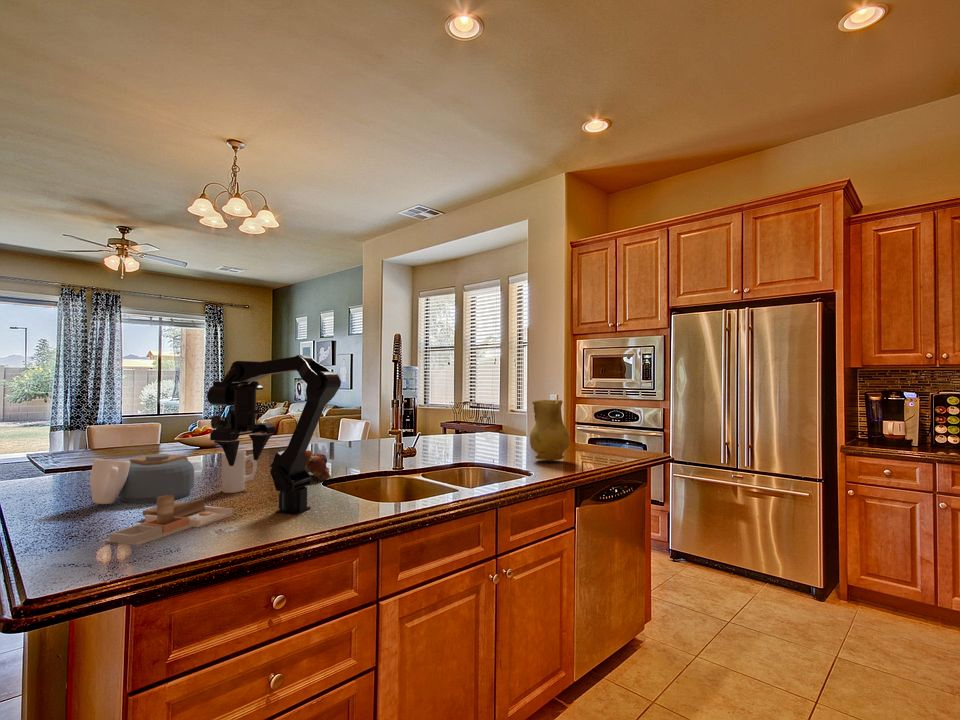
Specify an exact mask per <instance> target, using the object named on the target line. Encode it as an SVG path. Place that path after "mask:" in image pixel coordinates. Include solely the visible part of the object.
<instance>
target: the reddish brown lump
mask: <svg viewBox="0 0 960 720" xmlns="http://www.w3.org/2000/svg"><path fill="white" fill-rule="evenodd" d="M305 457H306V465H305V469H306V471H307V472H308V473H311V474H312V475H313V476H314V477H315V478H316V479H318V480H319V481H325V480H327V481H328V480H331V479H333V478H334V477H333V476H332V475H331V474H330V468H329V467H327V463H328V458H327V456H326V454H322V453H318V452H317V453H313V451H312V450H306V452H305Z"/></svg>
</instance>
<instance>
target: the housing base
mask: <svg viewBox="0 0 960 720" xmlns="http://www.w3.org/2000/svg"><path fill="white" fill-rule="evenodd" d="M233 512H234V511H233V508H232V507H230V508H229V507H222V506H221V507H219V506H210V505H209V506H208V505H205V509H203V510H200V511H197V512H194V513H191V514H188V515H185V516H182V517H186V518H189V524H192V525H193V527H192V528H200V527H203V526H206V525H208V524H212V523H214V522H217V521H219V520H223V519H225V518H226V519H227V518H228V517H231V516H234V515H233ZM153 519H157V515H148V514H147V515H145V516H144V522H147V521H150V520H153Z"/></svg>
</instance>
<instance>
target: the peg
mask: <svg viewBox="0 0 960 720" xmlns="http://www.w3.org/2000/svg"><path fill="white" fill-rule="evenodd" d="M174 502H175V499H174V495H165V496H160V497H157V502H156V507H157V524H160V525H166V524H169V523H172V522H174Z"/></svg>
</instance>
